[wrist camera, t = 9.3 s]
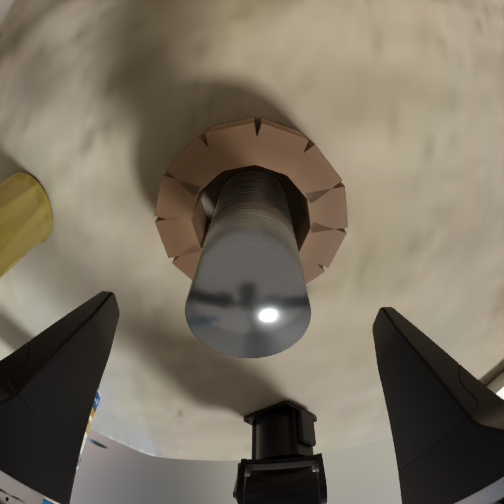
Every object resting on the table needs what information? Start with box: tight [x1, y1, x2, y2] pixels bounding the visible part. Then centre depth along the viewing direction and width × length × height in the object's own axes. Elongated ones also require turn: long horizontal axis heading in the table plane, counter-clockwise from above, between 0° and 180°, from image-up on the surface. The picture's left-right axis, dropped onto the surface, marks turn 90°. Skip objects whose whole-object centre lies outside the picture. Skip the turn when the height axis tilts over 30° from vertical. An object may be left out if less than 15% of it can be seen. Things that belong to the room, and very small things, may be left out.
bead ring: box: [154, 118, 348, 284], centre depth 17 cm, size 10×10×3 cm
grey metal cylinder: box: [185, 170, 311, 358], centre depth 14 cm, size 4×4×10 cm
